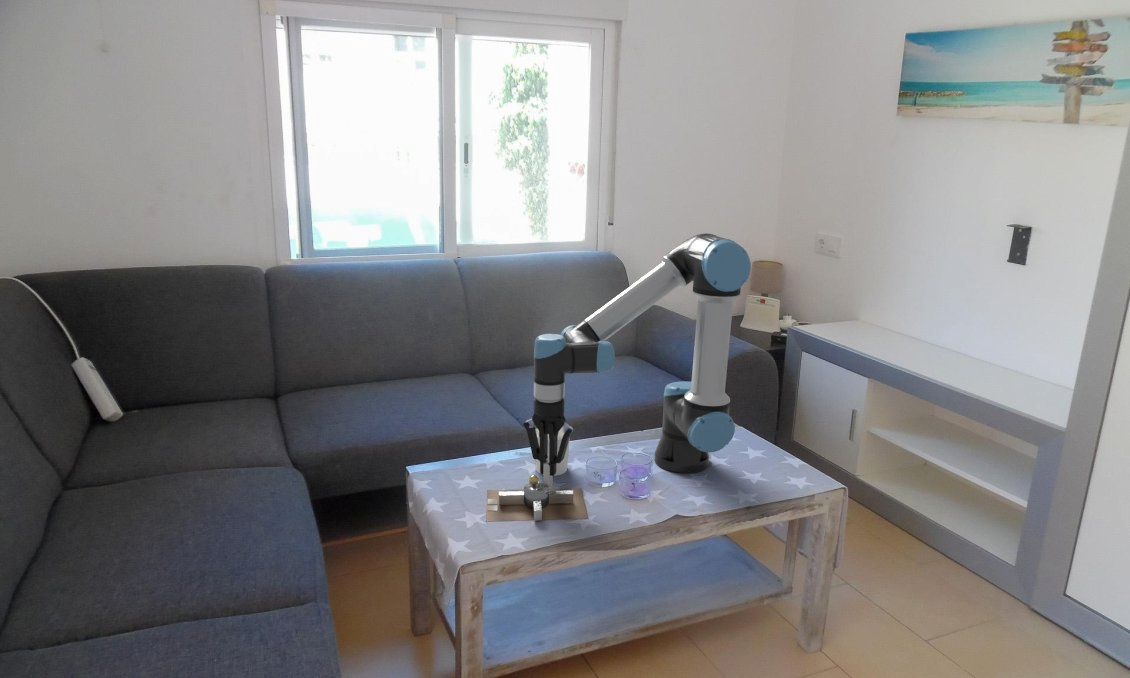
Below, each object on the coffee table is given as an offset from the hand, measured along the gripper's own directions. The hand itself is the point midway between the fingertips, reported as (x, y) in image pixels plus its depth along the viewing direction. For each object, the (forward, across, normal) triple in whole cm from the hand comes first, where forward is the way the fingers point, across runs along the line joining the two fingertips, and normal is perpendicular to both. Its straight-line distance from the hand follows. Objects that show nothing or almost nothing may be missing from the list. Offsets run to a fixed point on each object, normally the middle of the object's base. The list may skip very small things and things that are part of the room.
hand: (547, 485), depth 195 cm
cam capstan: (+2, 0, +7) cm, 8 cm away
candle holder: (+3, +4, -13) cm, 14 cm away
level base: (+3, 0, +7) cm, 8 cm away
